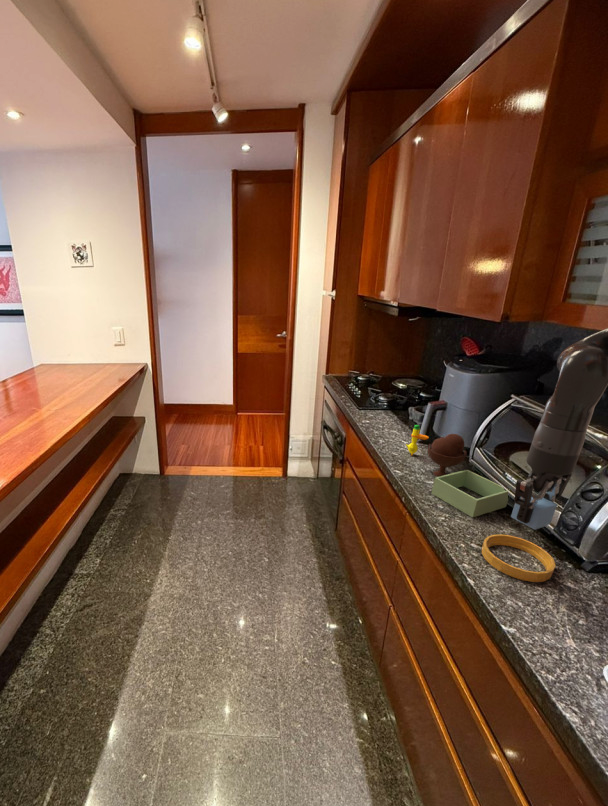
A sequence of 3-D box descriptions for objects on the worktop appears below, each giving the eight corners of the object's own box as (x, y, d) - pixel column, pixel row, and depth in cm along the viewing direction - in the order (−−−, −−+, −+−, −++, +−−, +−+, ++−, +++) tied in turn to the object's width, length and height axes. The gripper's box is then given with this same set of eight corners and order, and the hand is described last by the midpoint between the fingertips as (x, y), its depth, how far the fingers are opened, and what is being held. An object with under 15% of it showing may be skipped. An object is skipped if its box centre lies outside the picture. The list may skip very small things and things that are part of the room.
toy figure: (424, 457, 138) (431, 426, 133) (423, 461, 135) (429, 429, 130) (404, 453, 141) (410, 422, 137) (402, 456, 138) (408, 425, 134)
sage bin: (462, 486, 119) (467, 469, 117) (505, 509, 107) (511, 490, 105) (430, 495, 114) (434, 477, 112) (471, 519, 103) (477, 500, 101)
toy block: (525, 512, 86) (532, 492, 84) (550, 524, 82) (557, 504, 80) (510, 517, 84) (516, 497, 83) (534, 529, 80) (542, 509, 78)
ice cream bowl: (446, 467, 130) (456, 426, 125) (467, 484, 120) (479, 440, 114) (415, 468, 130) (424, 427, 124) (434, 485, 120) (445, 441, 114)
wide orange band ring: (505, 539, 95) (508, 529, 94) (564, 574, 84) (569, 563, 83) (467, 552, 91) (471, 542, 90) (525, 591, 80) (529, 580, 79)
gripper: (553, 460, 71) (527, 536, 77) (600, 447, 76) (571, 520, 82) (512, 444, 77) (491, 516, 84) (557, 434, 82) (534, 502, 89)
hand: (531, 517), depth 83 cm, fingers closed on toy block, 5 cm apart
